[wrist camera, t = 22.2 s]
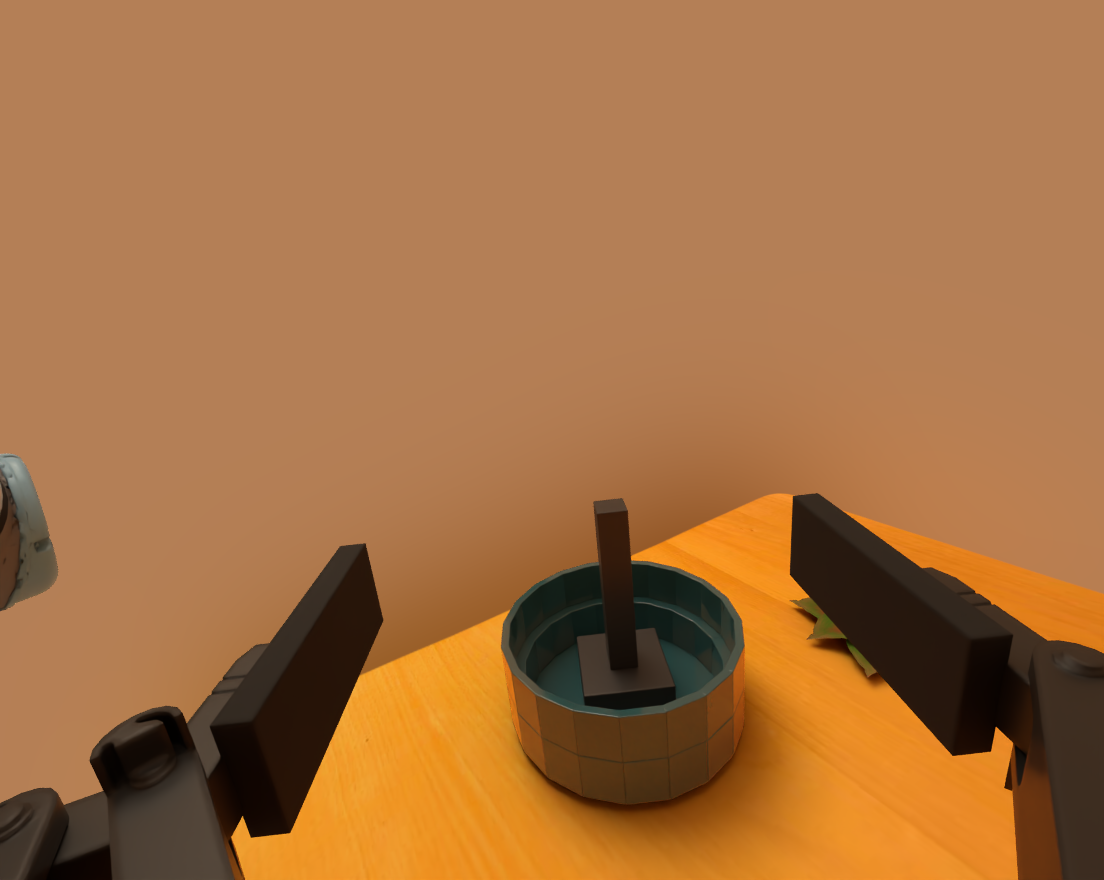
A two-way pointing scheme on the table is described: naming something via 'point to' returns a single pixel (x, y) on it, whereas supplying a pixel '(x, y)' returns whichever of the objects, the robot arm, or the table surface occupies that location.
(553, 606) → the bowl
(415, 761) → the table surface
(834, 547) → the robot arm
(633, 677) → the post on square base
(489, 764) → the table surface
